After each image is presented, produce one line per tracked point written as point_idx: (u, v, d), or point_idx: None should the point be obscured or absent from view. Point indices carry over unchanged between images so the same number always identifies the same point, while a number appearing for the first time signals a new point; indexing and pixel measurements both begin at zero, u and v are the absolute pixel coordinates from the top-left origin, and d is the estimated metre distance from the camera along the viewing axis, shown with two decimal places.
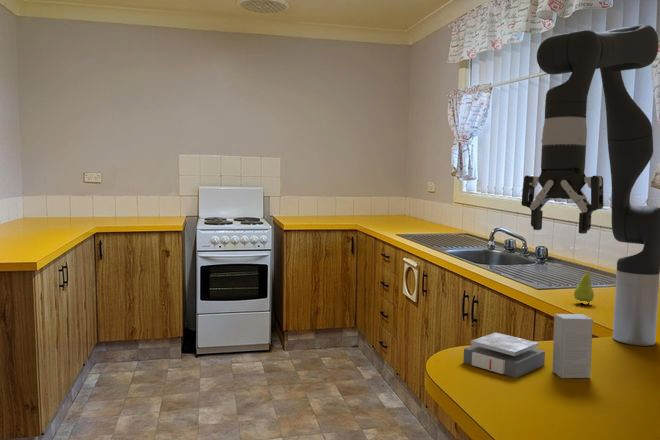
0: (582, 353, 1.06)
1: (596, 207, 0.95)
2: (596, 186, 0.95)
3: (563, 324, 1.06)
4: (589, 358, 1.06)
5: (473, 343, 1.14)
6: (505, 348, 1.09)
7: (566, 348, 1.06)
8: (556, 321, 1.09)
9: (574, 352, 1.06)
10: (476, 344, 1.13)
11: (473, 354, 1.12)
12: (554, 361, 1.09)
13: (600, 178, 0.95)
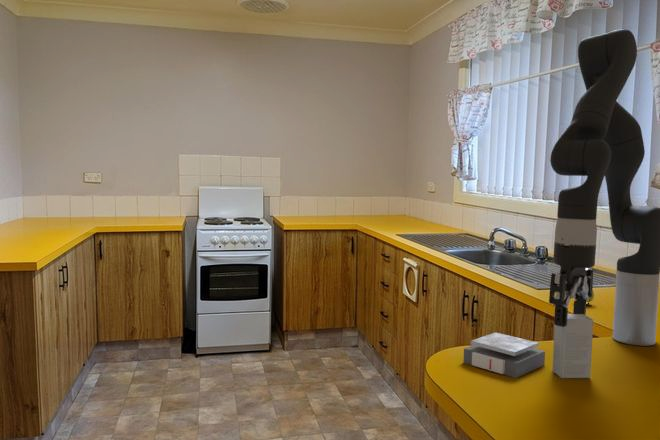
0: (582, 353, 1.06)
1: (591, 295, 1.11)
2: (592, 278, 1.11)
3: None
4: (589, 359, 1.06)
5: (473, 343, 1.14)
6: (505, 348, 1.09)
7: (566, 348, 1.06)
8: None
9: (574, 352, 1.06)
10: (476, 344, 1.13)
11: (473, 354, 1.12)
12: (554, 361, 1.09)
13: None
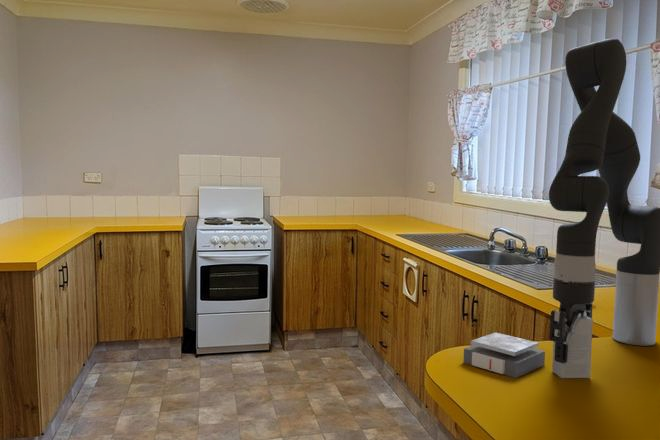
0: (582, 353, 1.06)
1: None
2: (591, 312, 1.11)
3: None
4: (589, 359, 1.06)
5: (473, 343, 1.14)
6: (505, 348, 1.09)
7: None
8: None
9: (574, 352, 1.06)
10: (476, 344, 1.13)
11: (473, 354, 1.12)
12: (554, 361, 1.09)
13: None
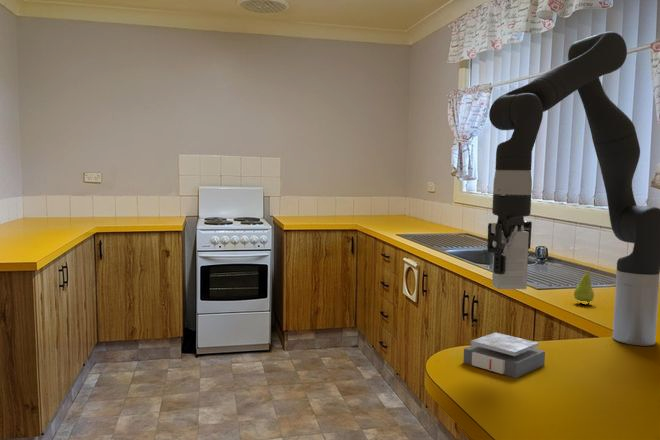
0: (518, 265, 1.11)
1: (529, 247, 1.16)
2: (530, 230, 1.16)
3: None
4: (525, 270, 1.11)
5: (473, 343, 1.14)
6: (505, 348, 1.09)
7: None
8: None
9: (510, 263, 1.11)
10: (476, 344, 1.13)
11: (473, 354, 1.12)
12: (493, 275, 1.14)
13: None
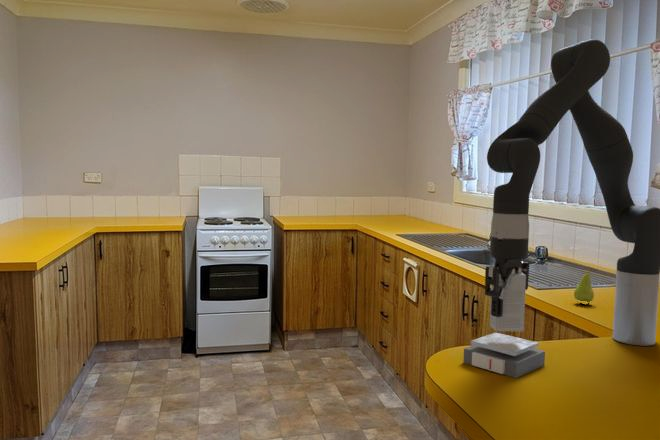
0: (515, 307, 1.12)
1: (527, 287, 1.17)
2: (528, 271, 1.17)
3: None
4: (523, 313, 1.12)
5: (473, 343, 1.14)
6: (505, 348, 1.09)
7: None
8: None
9: (508, 306, 1.11)
10: (476, 344, 1.13)
11: (473, 354, 1.12)
12: (491, 316, 1.15)
13: None
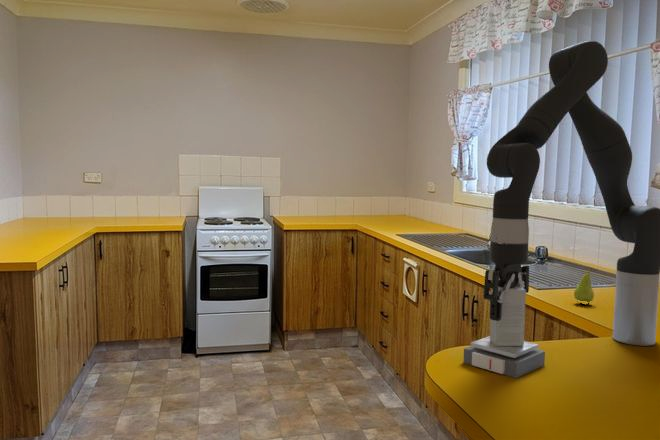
0: (515, 322, 1.12)
1: (528, 290, 1.17)
2: (528, 274, 1.17)
3: None
4: (523, 327, 1.12)
5: (473, 345, 1.14)
6: (505, 350, 1.09)
7: None
8: None
9: (508, 321, 1.12)
10: (476, 346, 1.13)
11: (473, 354, 1.12)
12: (491, 331, 1.15)
13: None
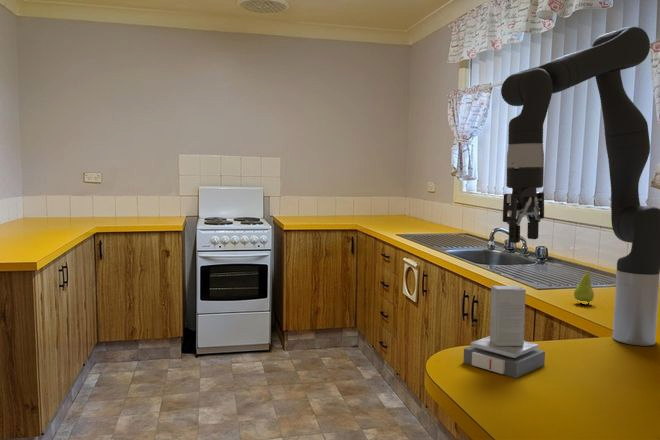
0: (515, 322, 1.12)
1: (543, 216, 1.21)
2: (543, 200, 1.21)
3: (497, 295, 1.11)
4: (522, 327, 1.12)
5: (473, 345, 1.14)
6: (505, 350, 1.09)
7: (500, 317, 1.12)
8: (492, 292, 1.14)
9: (508, 321, 1.12)
10: (476, 346, 1.13)
11: (473, 354, 1.12)
12: (491, 331, 1.15)
13: None
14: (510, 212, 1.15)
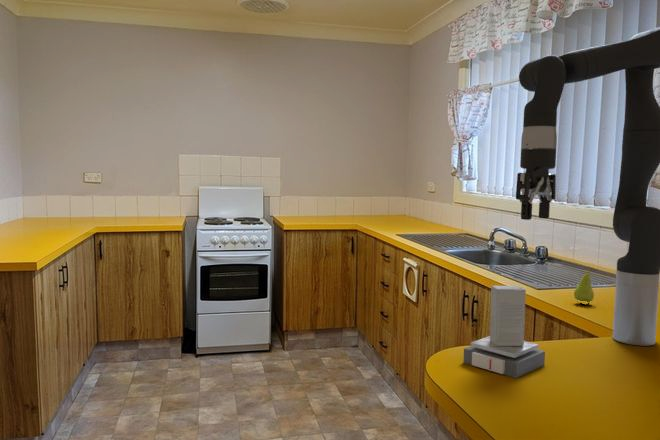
0: (515, 322, 1.12)
1: (554, 197, 1.27)
2: (555, 182, 1.27)
3: (497, 295, 1.11)
4: (522, 327, 1.12)
5: (473, 345, 1.14)
6: (505, 350, 1.09)
7: (500, 317, 1.12)
8: (492, 292, 1.14)
9: (508, 321, 1.12)
10: (476, 346, 1.13)
11: (473, 354, 1.12)
12: (491, 331, 1.15)
13: None
14: (523, 191, 1.22)
